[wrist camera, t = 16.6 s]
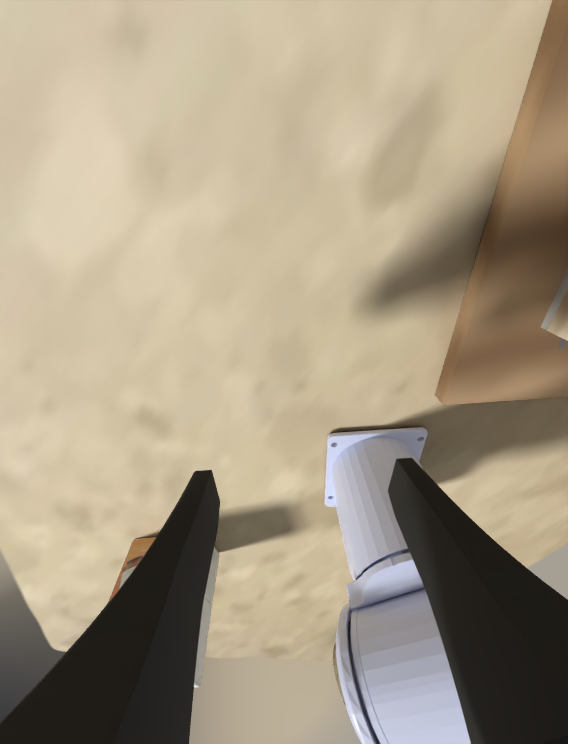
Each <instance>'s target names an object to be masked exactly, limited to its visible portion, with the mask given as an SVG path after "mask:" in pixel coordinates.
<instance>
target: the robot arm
mask: <svg viewBox="0 0 568 744" xmlns="http://www.w3.org/2000/svg"><path fill="white" fill-rule="evenodd" d="M427 435H428V432H427V430H426V429H425V428H424V427H417V428H402V429H387V430H371V431H356V432H341V433H332V434H330V435H329V436H328V438H327V459H326V480H325V500H324V501H325V505H326V506H328V507H332V506H336V509H337V514H338V518H339V523H340V528H341V533H342V537H343V542H344V547H345V552H346V556H347V561H348V566H349V569H350V573H351V575H352V577H353V579H354V582H352V583H349V584H347V585H346V587H347V592H348V597H349V602H350V603H349V604H347V605H345V606H344V607H343V609H342V611H341V613H340V617H339V622H338V627H337V633H336V659H337V667H338V674H339V679H340V684H341V689H342V693H343V697H344V701H345V704H346V708H347V711H348V714H349V716H350V719H351V722H352V724H353V727H354V729H355V731H356V733H357V735H358V737H359V739H360V741H361V743H362V744H568V600H567V599H566V598H564V597H563V596H562V595H560V594H559V593H558V592H557V591H555V590H554V589H553V588H551V587H550V586H549V585H547V584H546V583H544V582H543V581H542V580H541V579H540V578H538V577H537V576H536V575H534V574H533V573H532V572H531V571H530V570H528V569H527V568H526V567H525V566H523V565H522V564H521V563H520V562H519V561H517V560H516V559H515V558H514V557H513V556H511V555H510V554H509V553H508V552H507V551H506V550H504V549H503V548H502V547H501V546H500V545H499V544H498V543H496V542H495V541H494V540H493V539H492V538H491V537H490V536H489V535H488V534H486V533H485V532H484V531H483V530H482V529H481V528H480V527H479V526H478V525H477V524H476V523H475V522H474V521H473V520H472V519H470V518H469V517H468V516H467V515H466V514H465V513H464V512H463V511H462V510H461V509H460V508H459V507H458V506H457V505H456V504H455V503H454V502H453V501H452V500H451V499H450V498H449V497H448V496H447V495H446V494H445V492H444V491H443V490H442V489H441V488H440V487H439V486H438V485H437V484H436V483H435V482H434V481H433V480H432V479H431V478H430V477H429V476H428V474H427V473H426V472H425V471H424V469H423V468H422V466H421V464H420V462H419V461H420V458H421V454H422V451H423V448H424V445H425V441H426V438H427ZM419 437H420V438H419ZM332 443H334V444H332ZM219 508H220V499H219V496H218V492H217V488H216V484H215V481H214V477H213V473H212V470H205V471H195V472H194V473H193V475H192V477H191V479H190V481H189V483H188V485H187V487H186V489H185V490H184V492H183V494H182V496H181V498H180V499H179V501H178V503H177V505H176V506H175V508H174V510H173V511H172V513H171V515H170V516H169V518H168V519H167V521H166V523H165V524H164V526H163V528H162V529H161V531H160V532H159V534H158V535H157V537H156V538H155V540H154V541H153V543H152V544H151V546H150V547H149V549H148V550H147V552H146V553H145V555H144V556H143V558H142V559H141V561H140V562H139V563H138V565H137V566H136V568H135V569H134V570H133V572H132V573H131V574H130V576H129V577H128V578H127V580H126V581H125V582H124V584H123V585H122V586H121V588H120V589H119V590H118V592H117V593H116V594H115V595H114V597H113V598H112V599H111V600H110V602H109V603H108V604H107V605H106V606H105V608H104V609H103V610H102V611H101V613H100V614H99V615H98V616H97V618H96V619H95V620H94V621H93V622H92V624H91V625H90V626H89V627H88V628H87V629H86V631H85V632H84V633H83V634H82V635H81V636H80V638H79V639H78V640H77V641H76V642H75V643H74V644H73V645H72V647H71V648H70V649H69V650H68V651H67V652H66V653H65V654H64V656H63V657H62V658H61V659H60V660H59V661H58V662H57V663H56V665H55V666H54V667H53V668H52V669H51V670H50V671H49V672H48V673H47V674H46V675H45V677H44V678H43V679H42V680H41V681H40V682H39V683H38V684H37V685H36V686H35V687H34V688H33V689H32V690H31V691H30V692H29V694H27V695H26V697H25V698H24V699H23V700H22V701H21V702H20V703H19V704H18V705H17V706H16V707H15V708H14V709H13V710H12V711H11V712H10V713H9V714H8V715H7V716H6V717H5V718H4V719H3V720H2V721H1V723H0V744H189V736H190V722H191V712H192V701H193V690H194V680H195V670H196V661H197V651H198V642H199V633H200V625H201V616H202V609H203V602H204V596H205V591H206V586H207V581H208V576H209V571H210V566H211V561H212V556H213V550H214V545H215V540H216V535H217V529H218V519H219Z"/></svg>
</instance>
